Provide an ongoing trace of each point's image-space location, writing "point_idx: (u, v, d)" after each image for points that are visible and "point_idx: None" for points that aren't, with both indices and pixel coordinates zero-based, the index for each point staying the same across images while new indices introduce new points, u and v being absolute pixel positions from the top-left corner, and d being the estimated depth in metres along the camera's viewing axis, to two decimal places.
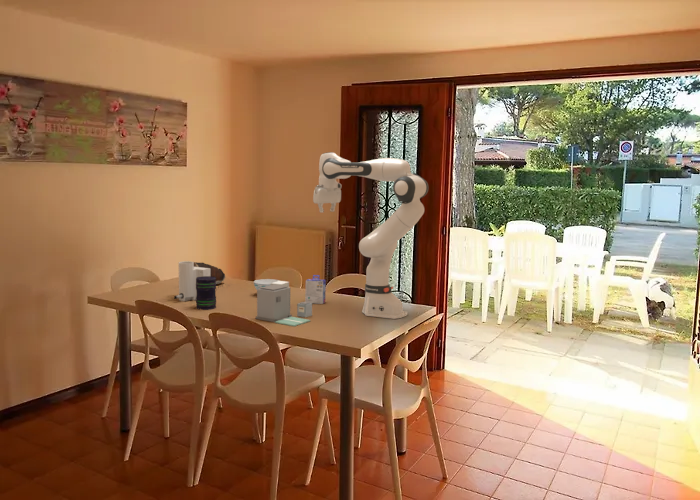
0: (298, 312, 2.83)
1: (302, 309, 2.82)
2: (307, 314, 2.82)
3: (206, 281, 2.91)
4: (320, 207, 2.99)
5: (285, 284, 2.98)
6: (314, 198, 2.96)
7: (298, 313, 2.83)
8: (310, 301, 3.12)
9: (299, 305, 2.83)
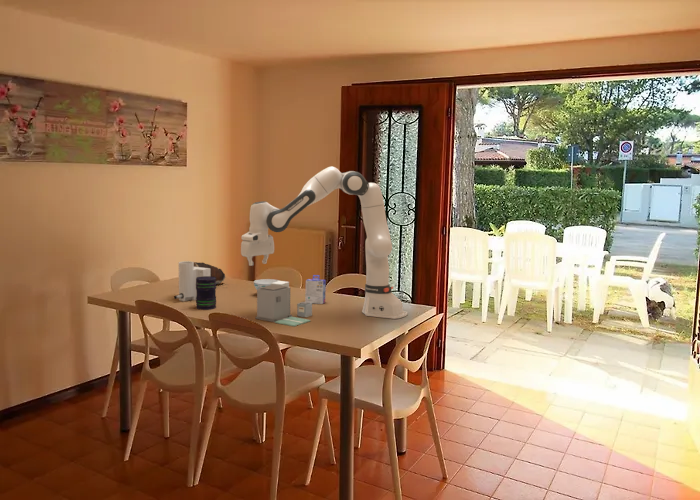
0: (298, 312, 2.83)
1: (302, 309, 2.82)
2: (307, 314, 2.82)
3: (206, 281, 2.91)
4: None
5: (285, 284, 2.98)
6: None
7: (298, 313, 2.83)
8: (310, 301, 3.12)
9: (299, 305, 2.83)
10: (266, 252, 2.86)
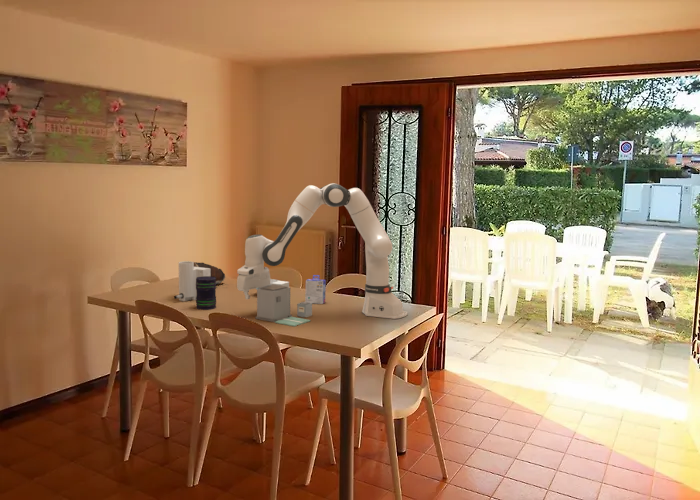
0: (298, 312, 2.83)
1: (302, 309, 2.82)
2: (307, 314, 2.82)
3: (206, 281, 2.91)
4: None
5: (285, 284, 2.98)
6: None
7: (298, 313, 2.83)
8: (310, 301, 3.12)
9: (299, 305, 2.83)
10: (262, 285, 2.86)
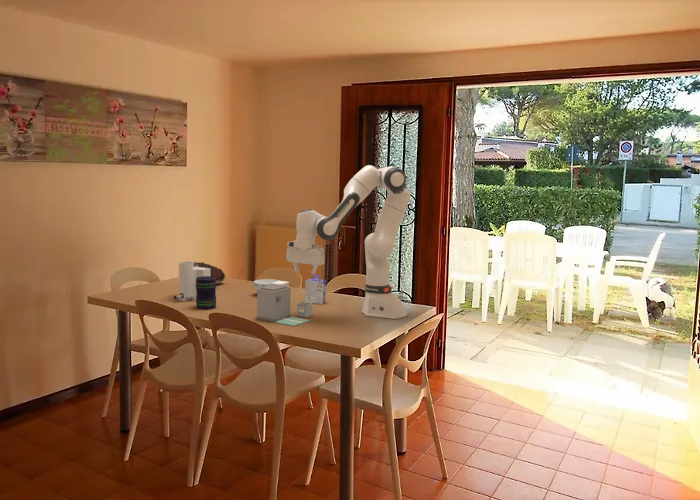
0: (298, 312, 2.83)
1: (302, 309, 2.82)
2: (307, 314, 2.82)
3: (206, 281, 2.91)
4: (316, 268, 2.79)
5: (285, 284, 2.98)
6: (321, 260, 2.75)
7: (298, 313, 2.83)
8: (310, 301, 3.12)
9: (299, 305, 2.83)
10: (309, 262, 2.78)
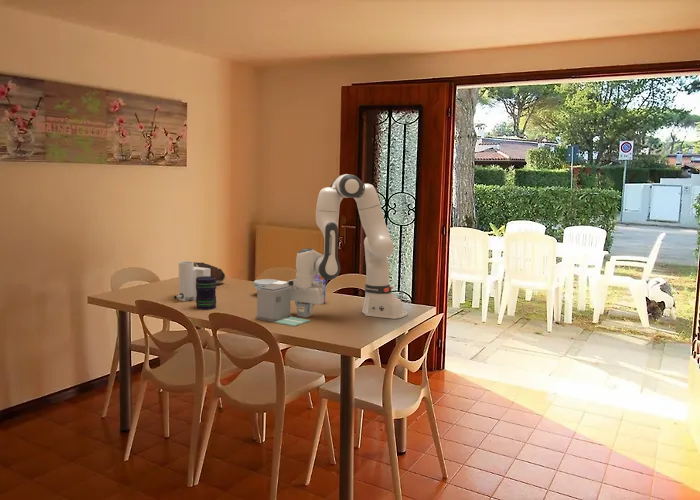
0: (298, 312, 2.83)
1: (302, 309, 2.82)
2: (307, 314, 2.82)
3: (206, 281, 2.91)
4: (313, 306, 2.82)
5: (285, 284, 2.98)
6: (321, 299, 2.78)
7: (298, 313, 2.83)
8: None
9: (299, 305, 2.83)
10: (309, 301, 2.80)
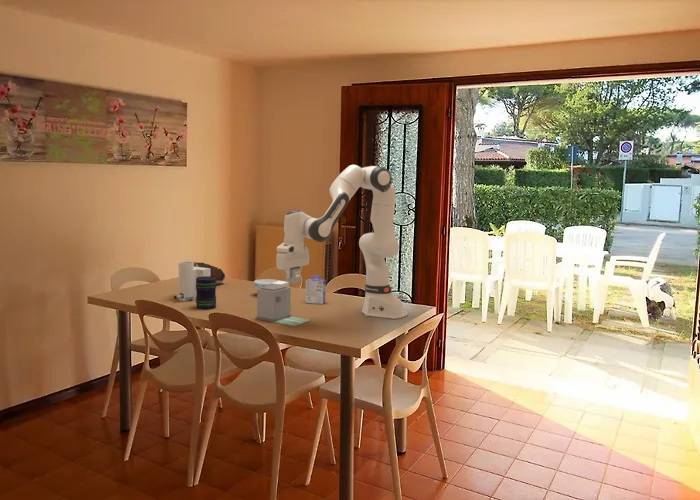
0: (295, 278, 2.67)
1: (299, 273, 2.69)
2: None
3: (206, 281, 2.91)
4: None
5: (285, 284, 2.98)
6: None
7: (295, 279, 2.67)
8: (310, 301, 3.12)
9: (296, 270, 2.67)
10: (301, 263, 2.71)
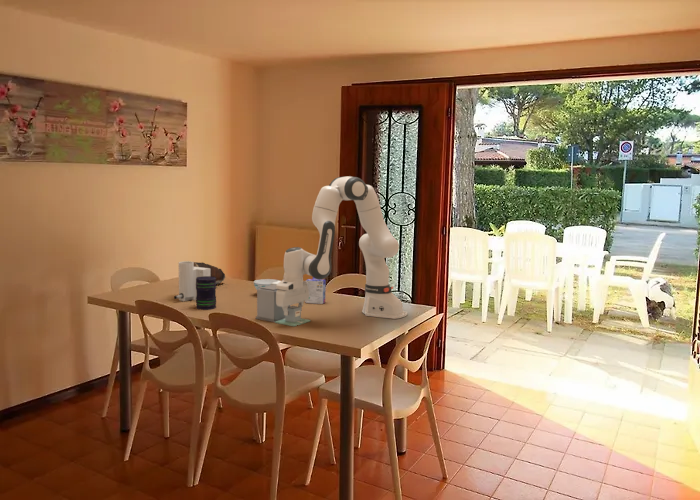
0: (295, 318, 2.69)
1: (298, 313, 2.71)
2: None
3: (206, 281, 2.91)
4: None
5: None
6: None
7: (295, 319, 2.69)
8: (310, 301, 3.12)
9: (295, 310, 2.69)
10: (301, 300, 2.73)
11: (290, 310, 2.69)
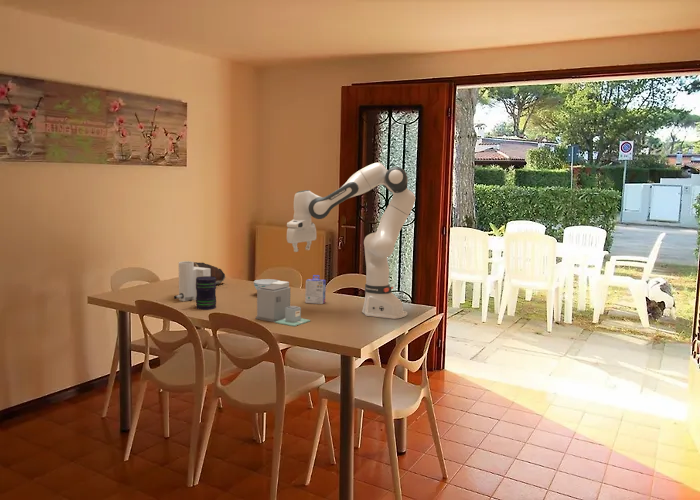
0: (295, 318, 2.69)
1: (298, 313, 2.71)
2: None
3: (206, 281, 2.91)
4: None
5: (285, 284, 2.98)
6: None
7: (295, 319, 2.69)
8: (310, 301, 3.12)
9: (295, 310, 2.69)
10: (309, 239, 2.99)
11: (290, 310, 2.69)
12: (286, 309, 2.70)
